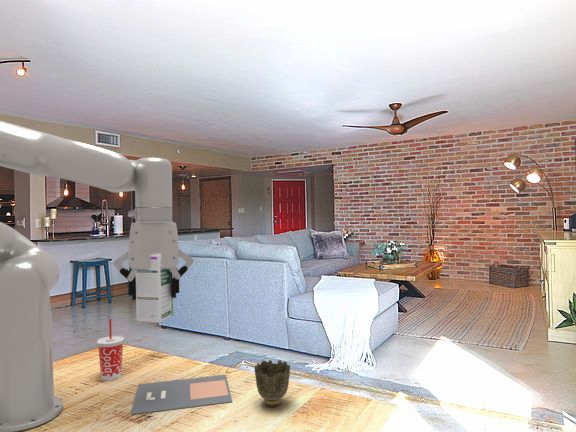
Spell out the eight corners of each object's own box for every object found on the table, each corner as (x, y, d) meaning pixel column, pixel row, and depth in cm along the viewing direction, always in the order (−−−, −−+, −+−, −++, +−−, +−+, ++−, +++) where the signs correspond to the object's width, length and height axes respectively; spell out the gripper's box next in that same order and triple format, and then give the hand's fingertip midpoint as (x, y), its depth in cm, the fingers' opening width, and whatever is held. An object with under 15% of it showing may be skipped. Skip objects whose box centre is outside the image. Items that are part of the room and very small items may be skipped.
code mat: (130, 414, 81) (130, 413, 81) (138, 385, 94) (138, 384, 94) (232, 402, 86) (232, 401, 86) (225, 375, 99) (225, 374, 99)
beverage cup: (92, 381, 97) (90, 322, 96) (106, 370, 103) (105, 315, 102) (116, 382, 96) (115, 323, 96) (129, 371, 102) (128, 316, 102)
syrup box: (160, 323, 85) (160, 253, 84) (134, 321, 86) (134, 252, 86) (173, 316, 90) (173, 250, 90) (149, 314, 91) (149, 250, 91)
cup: (250, 411, 82) (250, 372, 81) (258, 394, 89) (258, 358, 89) (287, 414, 80) (287, 374, 80) (292, 396, 88) (292, 360, 88)
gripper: (107, 216, 82) (108, 304, 82) (196, 216, 86) (196, 299, 86) (113, 216, 89) (114, 296, 89) (195, 215, 93) (195, 292, 94)
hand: (154, 297), depth 88 cm, fingers closed on syrup box, 7 cm apart
